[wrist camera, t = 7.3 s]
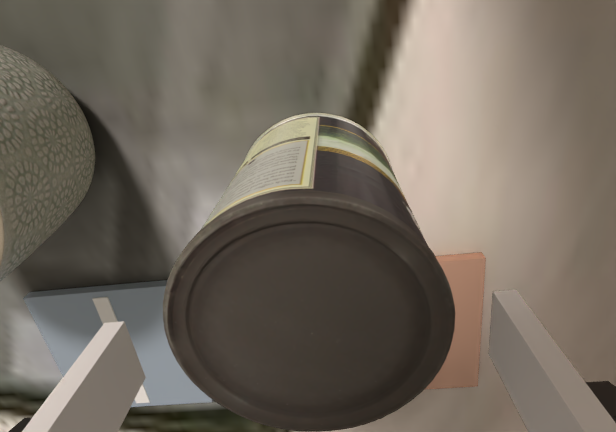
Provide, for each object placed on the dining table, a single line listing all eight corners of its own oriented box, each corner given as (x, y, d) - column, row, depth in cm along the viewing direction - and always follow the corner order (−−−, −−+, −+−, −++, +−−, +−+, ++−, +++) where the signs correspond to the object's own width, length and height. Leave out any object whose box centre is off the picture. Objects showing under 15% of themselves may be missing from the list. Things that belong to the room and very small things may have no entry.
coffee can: (403, 113, 25) (486, 206, 12) (384, 259, 29) (430, 441, 16) (235, 107, 25) (141, 191, 12) (241, 252, 29) (177, 426, 17)
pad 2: (311, 267, 30) (311, 273, 29) (481, 252, 29) (485, 258, 28) (329, 387, 35) (329, 395, 34) (474, 378, 34) (477, 386, 33)
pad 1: (30, 292, 32) (22, 299, 31) (179, 279, 31) (175, 285, 30) (84, 402, 37) (79, 410, 36) (214, 394, 36) (212, 403, 35)
